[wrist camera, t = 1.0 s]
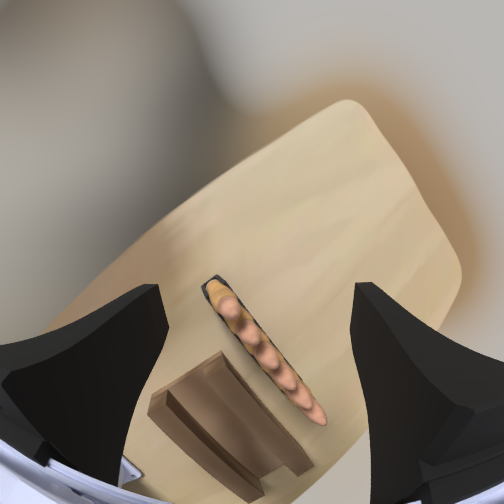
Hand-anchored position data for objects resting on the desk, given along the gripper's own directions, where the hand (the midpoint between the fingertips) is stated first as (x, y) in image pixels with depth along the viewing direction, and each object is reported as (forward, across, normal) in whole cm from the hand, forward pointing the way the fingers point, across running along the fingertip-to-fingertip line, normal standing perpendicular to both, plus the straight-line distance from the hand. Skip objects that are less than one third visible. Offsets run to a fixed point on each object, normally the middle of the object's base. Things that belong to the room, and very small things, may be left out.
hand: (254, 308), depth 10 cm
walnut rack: (+7, +4, +20) cm, 22 cm away
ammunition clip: (+12, +3, +11) cm, 17 cm away
